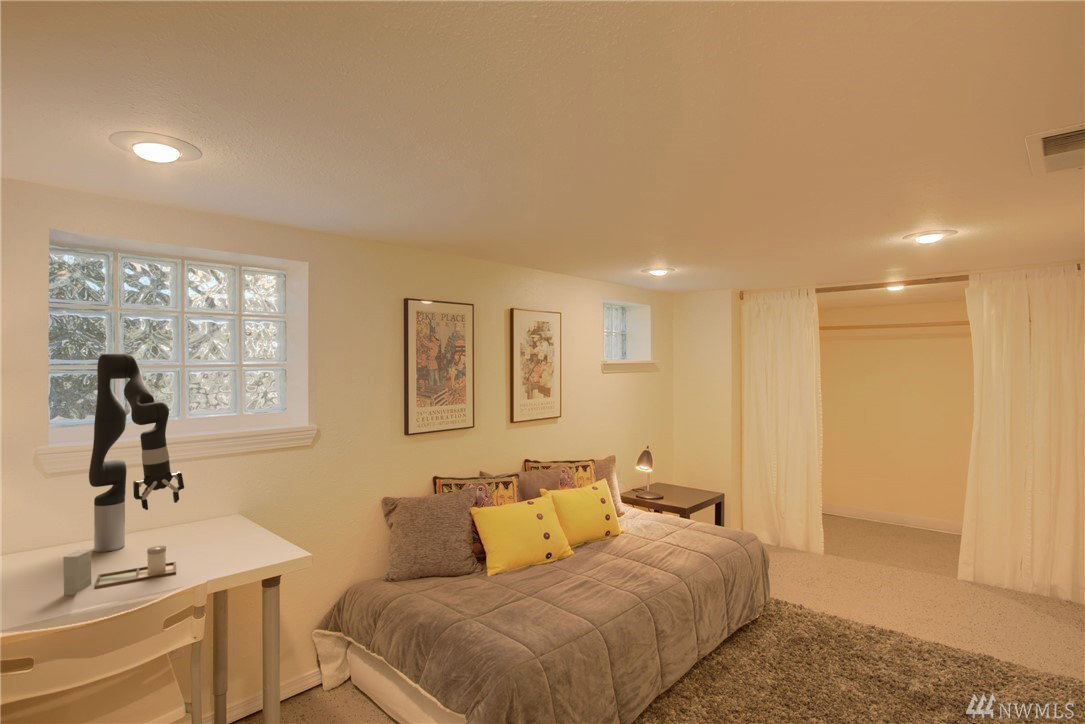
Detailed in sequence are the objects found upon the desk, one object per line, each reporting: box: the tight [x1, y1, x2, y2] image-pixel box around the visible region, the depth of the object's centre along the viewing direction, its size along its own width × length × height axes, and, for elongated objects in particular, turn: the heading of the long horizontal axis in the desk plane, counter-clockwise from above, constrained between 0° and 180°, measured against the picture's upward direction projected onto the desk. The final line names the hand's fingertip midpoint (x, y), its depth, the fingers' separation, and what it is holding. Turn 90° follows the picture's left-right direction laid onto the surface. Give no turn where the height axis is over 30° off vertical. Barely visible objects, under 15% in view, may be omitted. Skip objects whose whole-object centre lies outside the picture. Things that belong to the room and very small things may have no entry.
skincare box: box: [62, 549, 93, 596], centre depth 172 cm, size 6×4×12 cm
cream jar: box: [146, 545, 167, 575], centre depth 185 cm, size 5×5×8 cm
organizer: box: [94, 561, 177, 589], centre depth 183 cm, size 11×21×2 cm, turn 124°
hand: (161, 505), depth 192 cm, fingers open, 8 cm apart
